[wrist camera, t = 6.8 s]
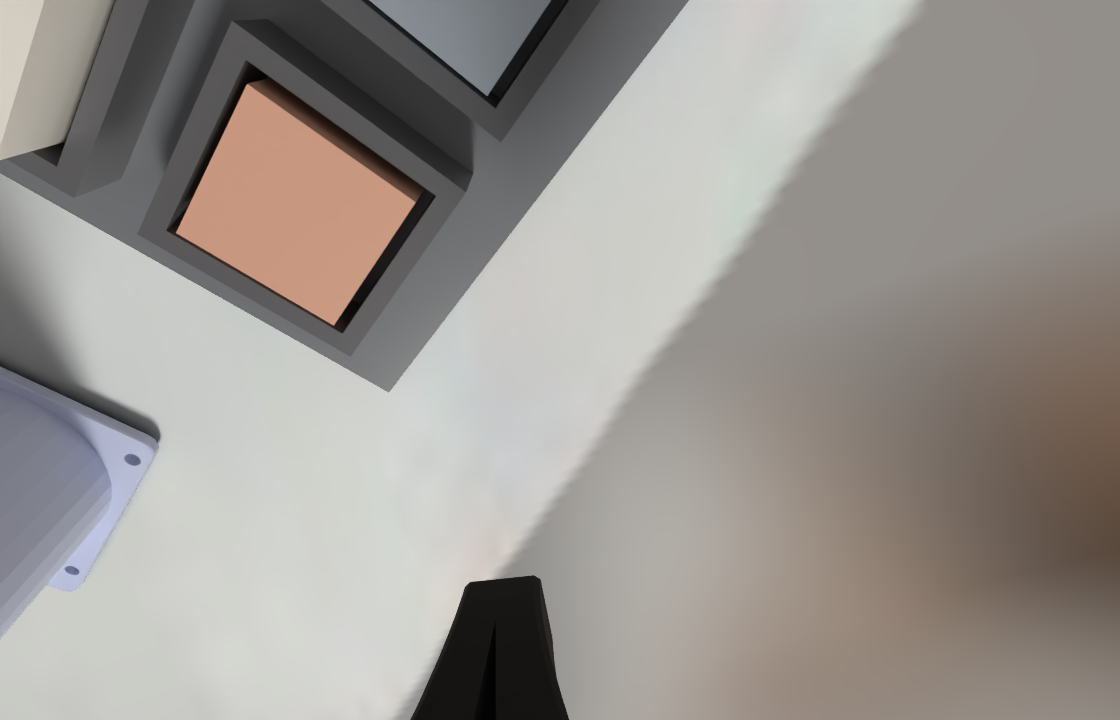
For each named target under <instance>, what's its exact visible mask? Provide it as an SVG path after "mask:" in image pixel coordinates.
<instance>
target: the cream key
mask: <svg viewBox="0 0 1120 720" xmlns="http://www.w3.org/2000/svg"><path fill="white" fill-rule="evenodd" d="M114 2H115V0H0V160H3V159H6V158H10V157H13V156H17V155H20V154H24V153H27V152H31V151H34V150H38V149H41V148H45V147H48V146H52V145H56V144H59V143H63V142H65V140H66V138H67V135H68V132H69V129H70V126H71V123H72V121H73V118H74V115H75V112H76V109H77V106H78V104H79V101H80V98H81V95H82V92H83V89H84V87H85V84H86V81H87V78H88V75H89V73H90V70H91V67H92V64H93V61H94V58H95V56H96V53H97V50H98V47H99V44H100V41H101V39H102V36H103V33H104V30H105V27H106V24H107V22H108V19H109V16H110V13H111V10H112V7H113V5H114Z"/></svg>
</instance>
